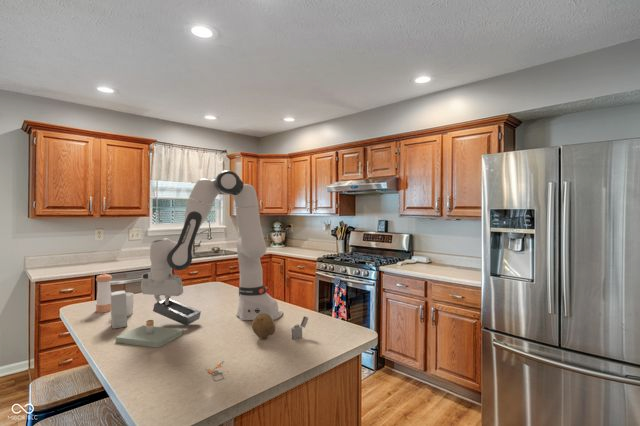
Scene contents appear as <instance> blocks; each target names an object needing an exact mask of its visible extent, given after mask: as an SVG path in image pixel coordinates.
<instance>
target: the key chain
mask: <svg viewBox="0 0 640 426" xmlns="http://www.w3.org/2000/svg"><path fill="white" fill-rule="evenodd" d="M224 363H225V361H224V360H222V361H221V362H220V363H219V364H216V365H217V366H218V368H221V364H222V365H223V364H224ZM215 368H216V369H217V367H216V366H215ZM206 370H208V371H207V374H211V375H212V380H214V382H217V381H216V380H217V379H215V376H218V375H219V374H220V376H221V377H222V378H219V379H218V381H222V380H225V377H224V376H223V372H219V370H216V371H215V370H214V369H209V368H208V369H206V368H205V371H206ZM214 371H215V372H216V373H215V372H214ZM226 371H227V372H228V371H229V370H226ZM213 373H214V374H213ZM228 373H229V372H228ZM217 374H218V375H217Z"/></svg>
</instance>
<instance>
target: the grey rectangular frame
mask: <svg viewBox="0 0 640 426" xmlns="http://www.w3.org/2000/svg"><path fill="white" fill-rule="evenodd" d="M161 300H162V301H160V302H157V301H156V302H155V303H154V305H153V309H152V311H153V313H157V314H159V315H161V316H162V317H164V318H168V319H170V320H172V321H175V322H177V323H179V324H182V325H184V326H189V325H191V324H192V323H194V322H196V321H198V320H199V319H200V317H201V312H202V311H201V310H198V309H196V308H194V307H191V306H188V305H186V304H184V303H181V302H179V301H176V300H174V299H172V298H170V299H169V304H168V305H163V301H165V299H164V300H163V299H161Z"/></svg>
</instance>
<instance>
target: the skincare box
mask: <svg viewBox="0 0 640 426" xmlns="http://www.w3.org/2000/svg"><path fill="white" fill-rule="evenodd" d="M126 293H127V292H126V291H125V290H117V291H111V311H110V316H111V317H110V318H111V327H112V329H118V328H119V329H120V328H125V327H126V328H127V327H128V316H127V307H126Z"/></svg>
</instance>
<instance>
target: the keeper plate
mask: <svg viewBox="0 0 640 426" xmlns="http://www.w3.org/2000/svg"><path fill="white" fill-rule="evenodd" d="M145 322H146V325H143V324H142V325H141V326H138V327H136V328H134V329H131V330H129V331H127V332H125V333H122V334H120V335H118V336H115V343H117V344H118V343H119V344H127V345H136V346H141V347H142V346H143V347H149V348H150V347H151V348H160V347H162V346H164V345H167V344H168V343H169V342H172V341H174V340H175V339H177V338H179V337H181V336H183V335H184V330H183V329H182V328H170V327H162V326H154V323H155V321H154V320H153V319H149V320H146V321H145Z"/></svg>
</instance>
